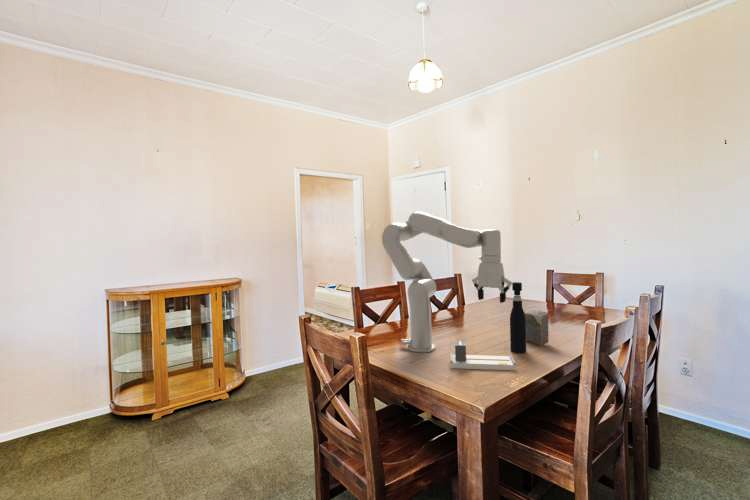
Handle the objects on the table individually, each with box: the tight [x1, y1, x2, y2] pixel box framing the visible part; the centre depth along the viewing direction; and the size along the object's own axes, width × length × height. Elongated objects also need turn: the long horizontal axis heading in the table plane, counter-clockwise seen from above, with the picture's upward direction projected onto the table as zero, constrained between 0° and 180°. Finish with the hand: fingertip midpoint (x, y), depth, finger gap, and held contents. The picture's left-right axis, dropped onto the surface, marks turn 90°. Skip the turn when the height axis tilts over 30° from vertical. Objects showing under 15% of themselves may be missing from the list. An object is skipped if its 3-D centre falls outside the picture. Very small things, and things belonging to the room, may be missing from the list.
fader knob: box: [454, 340, 467, 361], centre depth 144 cm, size 4×6×6 cm, turn 168°
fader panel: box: [449, 352, 517, 371], centre depth 142 cm, size 24×10×3 cm, turn 78°
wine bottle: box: [509, 281, 527, 355], centre depth 156 cm, size 6×6×30 cm
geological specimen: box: [524, 309, 550, 346], centre depth 168 cm, size 11×6×15 cm, turn 25°
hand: (491, 300), depth 149 cm, fingers open, 9 cm apart
